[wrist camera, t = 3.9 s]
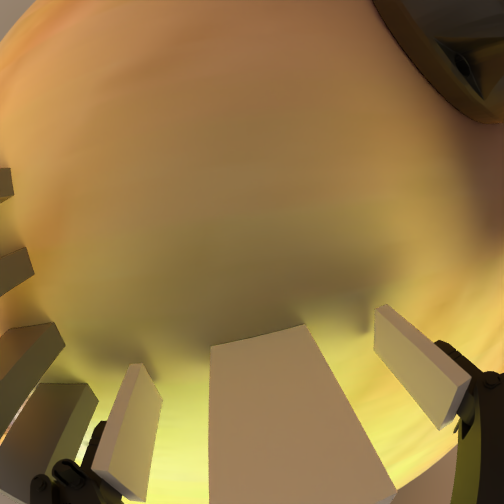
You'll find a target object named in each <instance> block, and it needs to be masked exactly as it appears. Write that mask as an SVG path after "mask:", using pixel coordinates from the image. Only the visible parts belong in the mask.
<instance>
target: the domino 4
mask: <svg viewBox="0 0 504 504" xmlns="http://www.w3.org/2000/svg"><path fill="white" fill-rule="evenodd" d="M98 402H99V400H98V399H97V398H96V396H95V395H94V393H93V392H92V390H91V389H90V387H89V385H88V384H46V383H40V384H39V385H38V387H37V388H36V390H35V391H34V393H33V394H32V396H31V397H30V399H29V400H28V402H27V403H26V405H25V406H24V408H23V409H22V411H21V412H20V414H19V415H18V417H17V419H16V420H15V422H14V423H13V425H12V427H11V428H10V430H9V432H8V433H7V435H6V437H5V439H4V440H3V442H2V444H1V446H0V493H2V494H3V495H4V496H6V497H8V498H9V499H11V500H13V501H15V502H17V503H18V504H30V484H31V481H32V479H33V477H35V476H36V475H38V474H45V475H47V476H48V477H49V478H50V479H52V480H56V479H55V478H54V477H53V476H52V468H53V466H54V465H55V464H56V462H58V461H59V460H61V459H71V460H72V461H75V458H76V455H77V453H78V450H79V448H80V445H81V442H82V440H83V437H84V435H85V432H86V430H87V428H88V425H89V423H90V420H91V418H92V416H93V413H94V411H95V409H96V407H97V404H98Z"/></svg>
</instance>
